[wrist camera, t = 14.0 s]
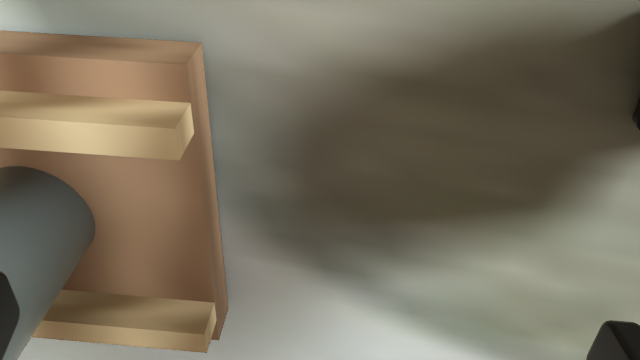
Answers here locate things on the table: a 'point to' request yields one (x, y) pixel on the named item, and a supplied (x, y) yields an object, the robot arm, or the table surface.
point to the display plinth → (123, 181)
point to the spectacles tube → (39, 242)
